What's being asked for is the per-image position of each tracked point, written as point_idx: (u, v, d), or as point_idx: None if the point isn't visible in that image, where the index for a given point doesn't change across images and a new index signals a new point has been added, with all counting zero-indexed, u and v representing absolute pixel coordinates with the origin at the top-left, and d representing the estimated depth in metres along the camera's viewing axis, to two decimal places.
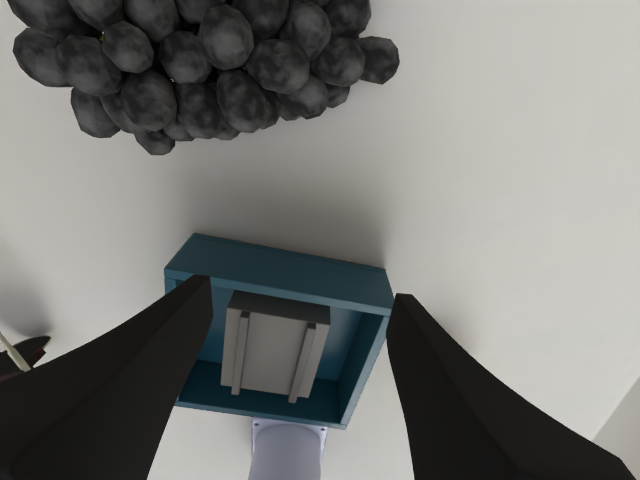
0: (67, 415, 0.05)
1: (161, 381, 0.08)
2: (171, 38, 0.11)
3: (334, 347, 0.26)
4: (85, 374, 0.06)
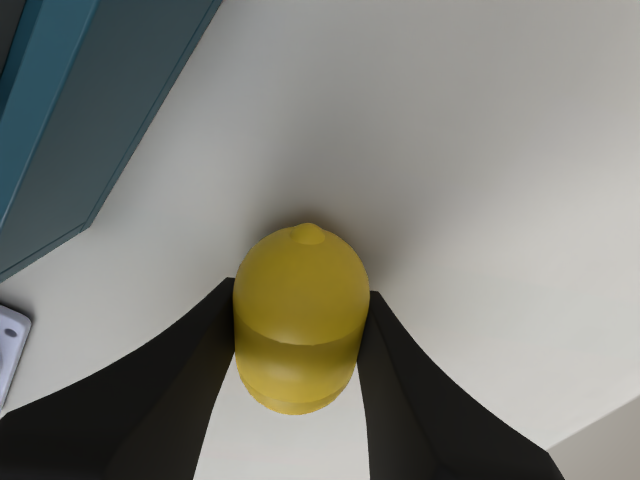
0: (141, 421, 0.05)
1: (205, 385, 0.08)
2: None
3: None
4: (146, 379, 0.06)
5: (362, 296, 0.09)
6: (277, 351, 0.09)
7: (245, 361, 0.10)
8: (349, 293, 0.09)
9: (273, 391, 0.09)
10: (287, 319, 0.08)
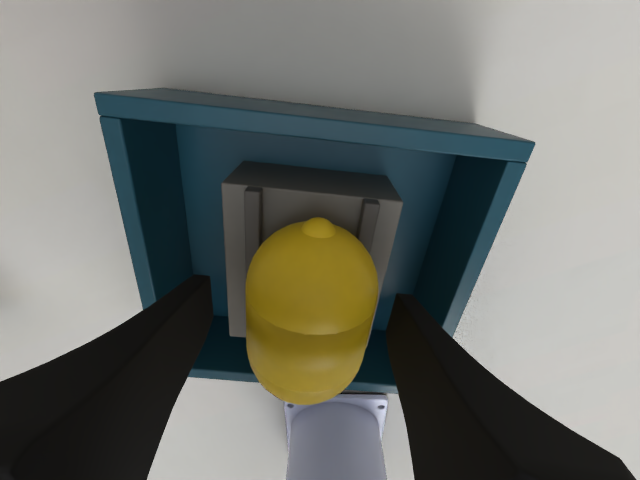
0: (67, 415, 0.05)
1: (161, 381, 0.08)
2: None
3: (395, 275, 0.17)
4: (84, 374, 0.06)
5: (374, 283, 0.10)
6: (301, 343, 0.09)
7: (264, 358, 0.10)
8: (365, 281, 0.09)
9: (296, 382, 0.10)
10: (311, 312, 0.08)
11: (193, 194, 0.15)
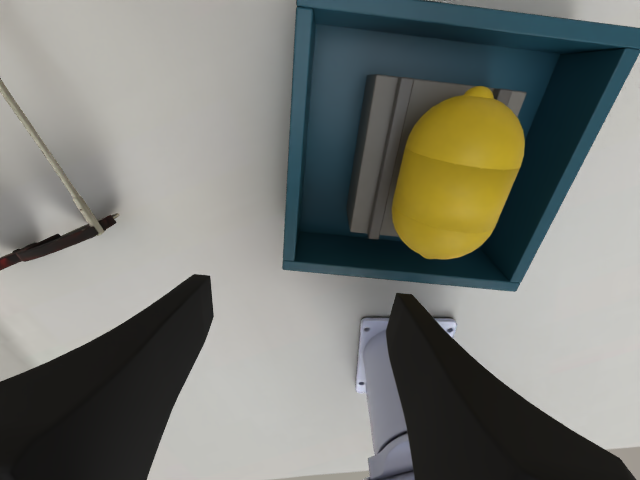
0: (67, 415, 0.05)
1: (161, 381, 0.08)
2: None
3: None
4: (85, 374, 0.06)
5: None
6: (474, 178, 0.11)
7: (431, 203, 0.12)
8: (522, 132, 0.11)
9: (458, 221, 0.12)
10: (490, 146, 0.11)
11: (317, 108, 0.17)
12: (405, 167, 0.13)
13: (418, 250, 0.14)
